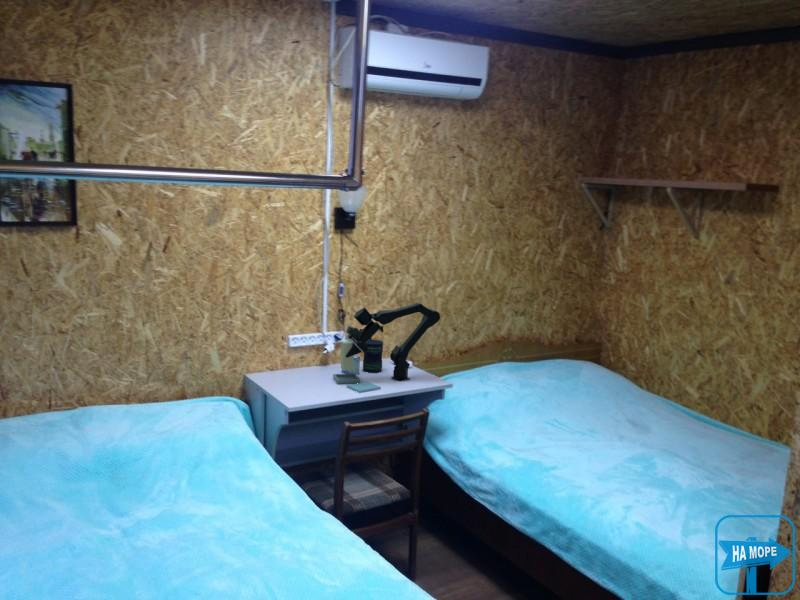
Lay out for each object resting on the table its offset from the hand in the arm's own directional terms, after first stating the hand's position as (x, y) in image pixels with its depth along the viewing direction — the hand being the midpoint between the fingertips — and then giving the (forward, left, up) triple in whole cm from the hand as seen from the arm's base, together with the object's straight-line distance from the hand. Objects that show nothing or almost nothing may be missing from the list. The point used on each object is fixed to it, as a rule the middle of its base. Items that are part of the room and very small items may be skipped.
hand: (344, 355), depth 321 cm
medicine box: (-11, -11, -13) cm, 20 cm away
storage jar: (-23, -9, -13) cm, 28 cm away
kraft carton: (-1, +1, -6) cm, 7 cm away
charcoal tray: (-1, 0, -12) cm, 13 cm away
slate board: (-1, +14, -12) cm, 19 cm away
